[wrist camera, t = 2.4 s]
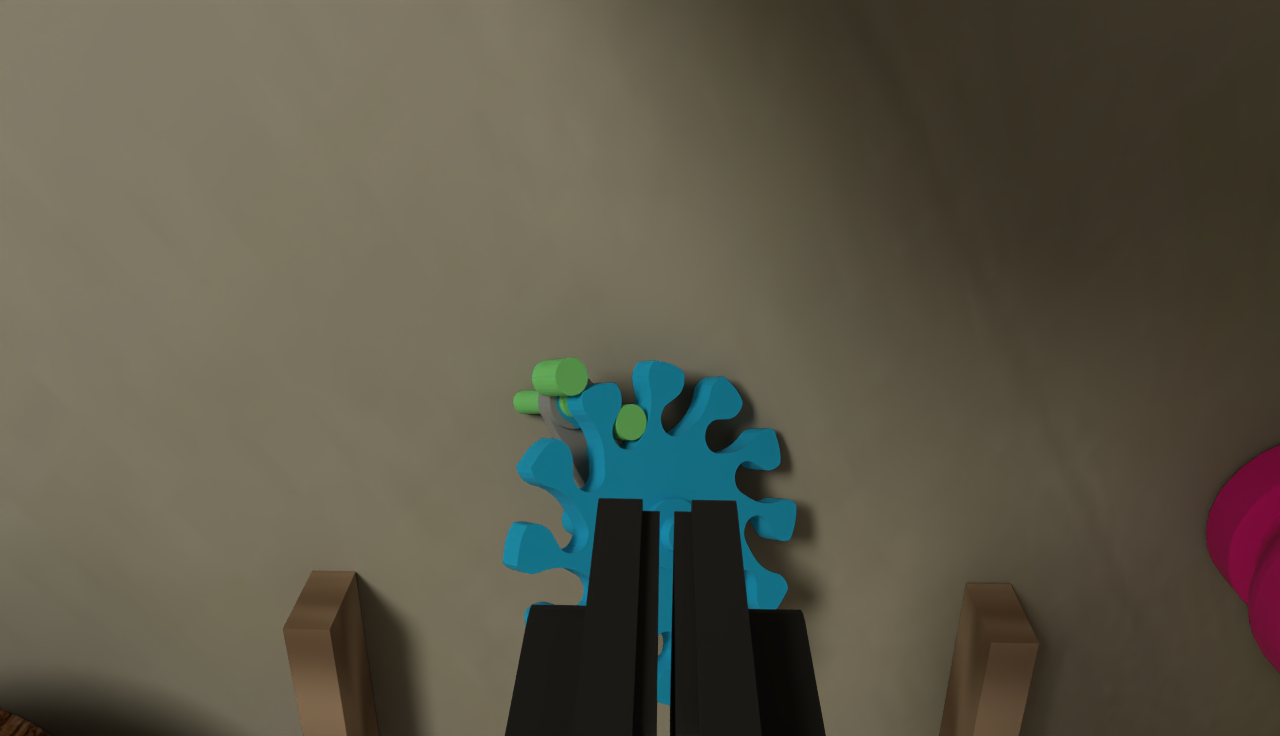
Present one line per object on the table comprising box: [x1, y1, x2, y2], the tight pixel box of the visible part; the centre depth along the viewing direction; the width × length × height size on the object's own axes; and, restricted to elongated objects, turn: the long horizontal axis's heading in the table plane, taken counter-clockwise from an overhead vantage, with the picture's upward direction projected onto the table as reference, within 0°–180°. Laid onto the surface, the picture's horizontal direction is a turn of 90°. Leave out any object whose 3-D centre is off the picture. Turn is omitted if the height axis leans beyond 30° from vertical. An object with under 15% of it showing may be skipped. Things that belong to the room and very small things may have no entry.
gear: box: [503, 358, 797, 705], centre depth 31 cm, size 11×6×10 cm
